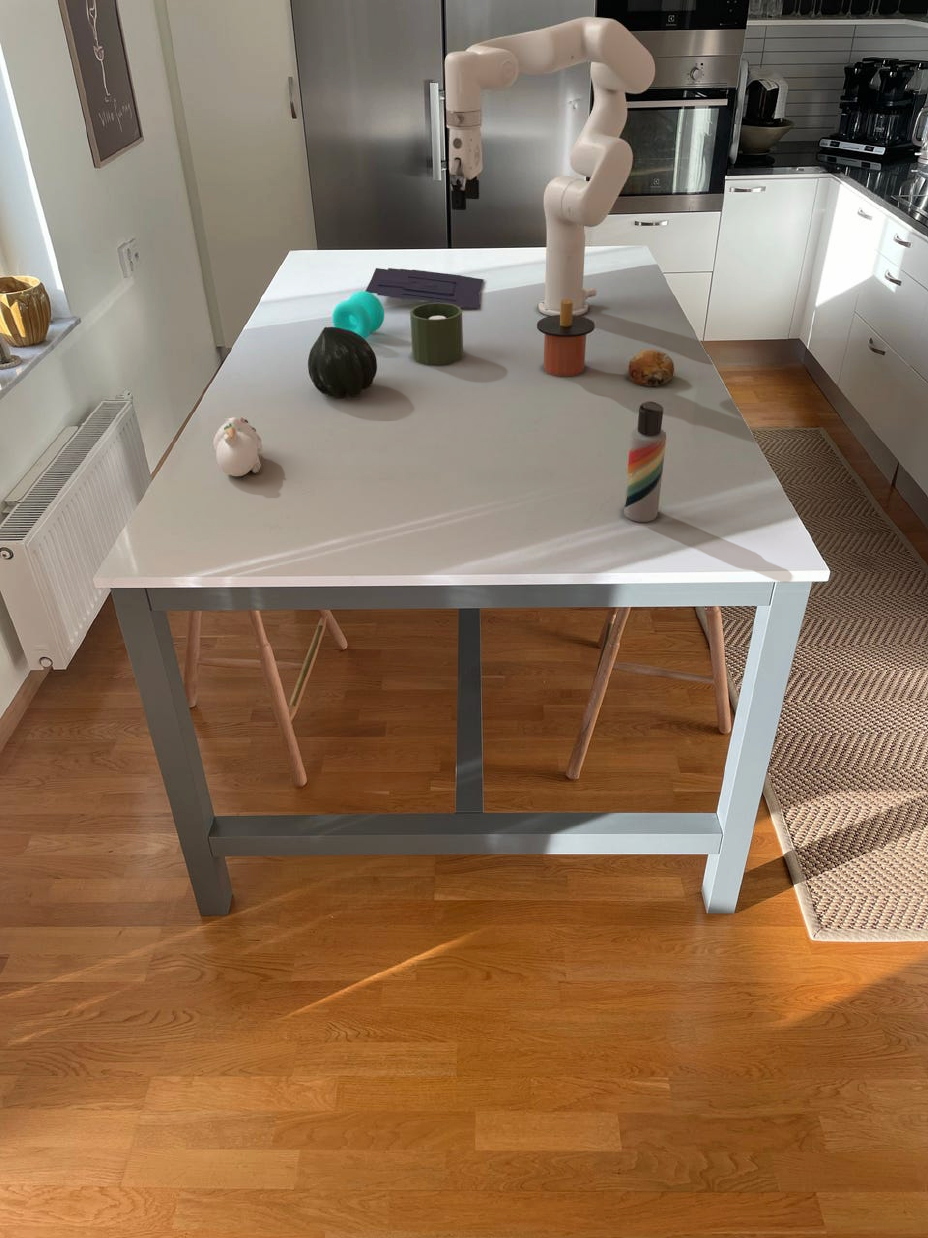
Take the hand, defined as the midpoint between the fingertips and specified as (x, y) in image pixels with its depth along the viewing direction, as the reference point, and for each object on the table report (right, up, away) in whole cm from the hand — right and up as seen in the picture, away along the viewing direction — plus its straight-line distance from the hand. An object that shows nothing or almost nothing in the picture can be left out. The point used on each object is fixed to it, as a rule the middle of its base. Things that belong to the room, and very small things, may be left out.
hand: (465, 203), depth 214 cm
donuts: (-26, -24, +19) cm, 40 cm away
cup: (+22, -37, +1) cm, 43 cm away
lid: (+22, -29, -5) cm, 37 cm away
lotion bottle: (+30, -75, -51) cm, 96 cm away
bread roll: (+40, -41, -5) cm, 57 cm away
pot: (-6, -32, +8) cm, 34 cm away
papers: (-11, -6, +43) cm, 45 cm away
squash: (-26, -44, -7) cm, 51 cm away
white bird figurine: (-43, -64, -33) cm, 84 cm away
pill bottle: (-6, -32, +8) cm, 33 cm away
